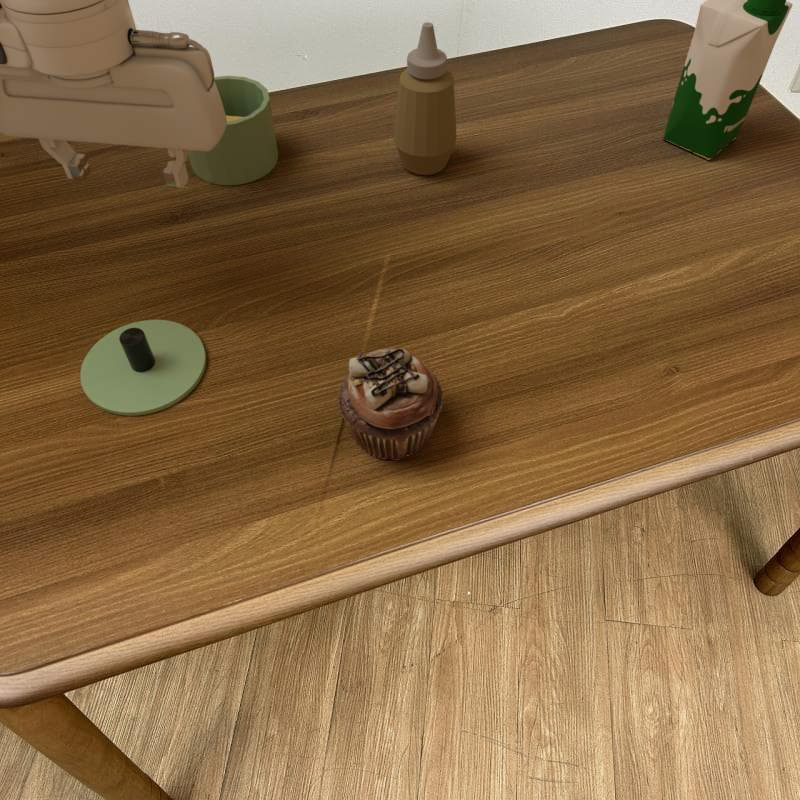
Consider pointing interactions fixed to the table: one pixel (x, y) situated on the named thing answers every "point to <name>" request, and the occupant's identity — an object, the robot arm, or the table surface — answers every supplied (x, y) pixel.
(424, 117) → the squeeze bottle
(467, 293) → the table surface
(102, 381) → the lid
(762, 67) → the milk carton
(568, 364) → the table surface
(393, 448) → the cupcake
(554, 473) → the table surface
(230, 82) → the tin
